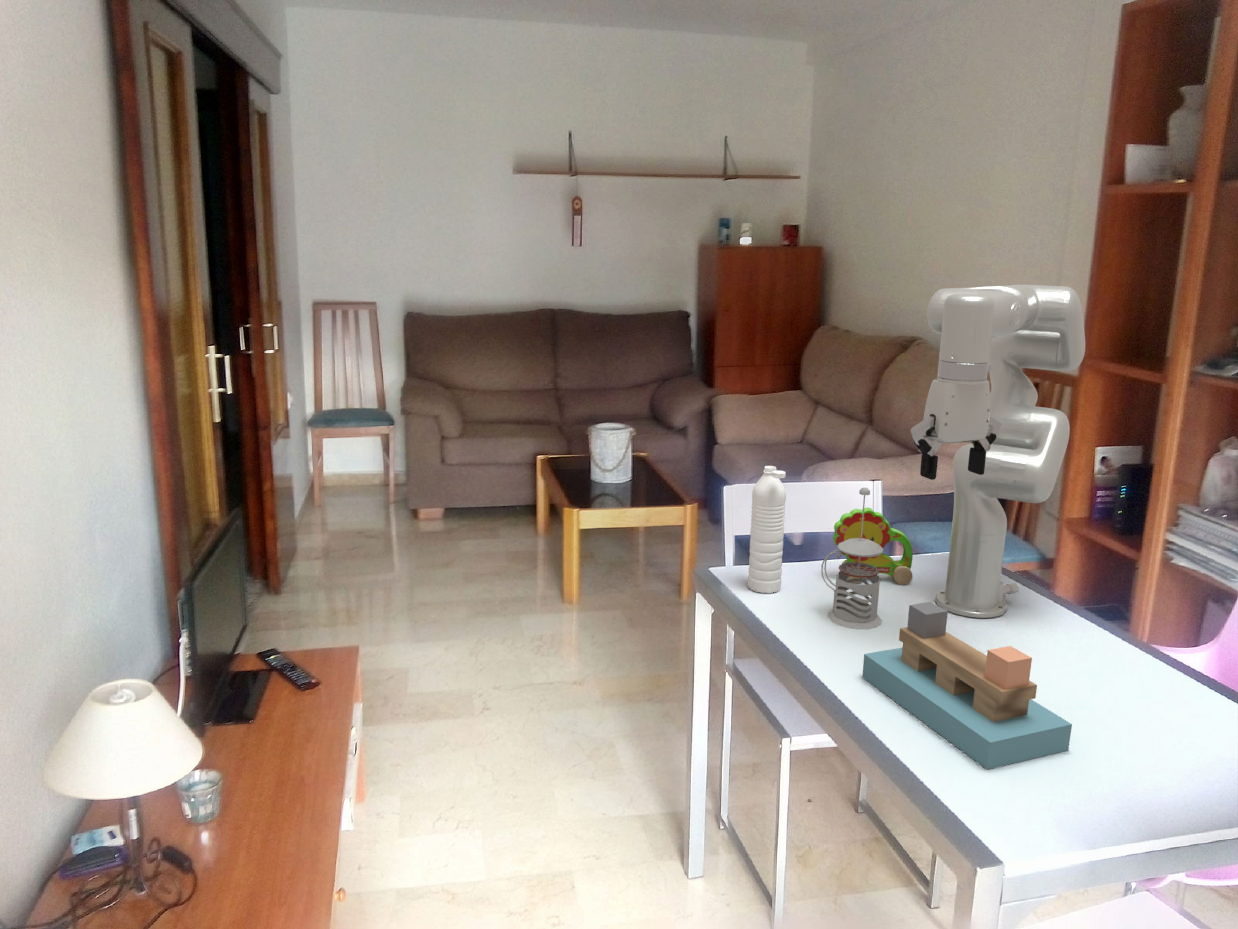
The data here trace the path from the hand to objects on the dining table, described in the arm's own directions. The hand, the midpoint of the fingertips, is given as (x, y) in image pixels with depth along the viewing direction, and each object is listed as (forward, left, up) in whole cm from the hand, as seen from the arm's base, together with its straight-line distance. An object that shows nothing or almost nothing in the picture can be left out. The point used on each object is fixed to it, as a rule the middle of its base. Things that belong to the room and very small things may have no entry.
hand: (952, 475), depth 153 cm
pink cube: (+12, +28, -21) cm, 37 cm away
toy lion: (-8, -30, -31) cm, 44 cm away
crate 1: (+12, +11, -21) cm, 27 cm away
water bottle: (+15, -32, -31) cm, 47 cm away
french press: (+7, -15, -31) cm, 35 cm away
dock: (+12, +20, -30) cm, 38 cm away
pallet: (+12, +20, -26) cm, 35 cm away
